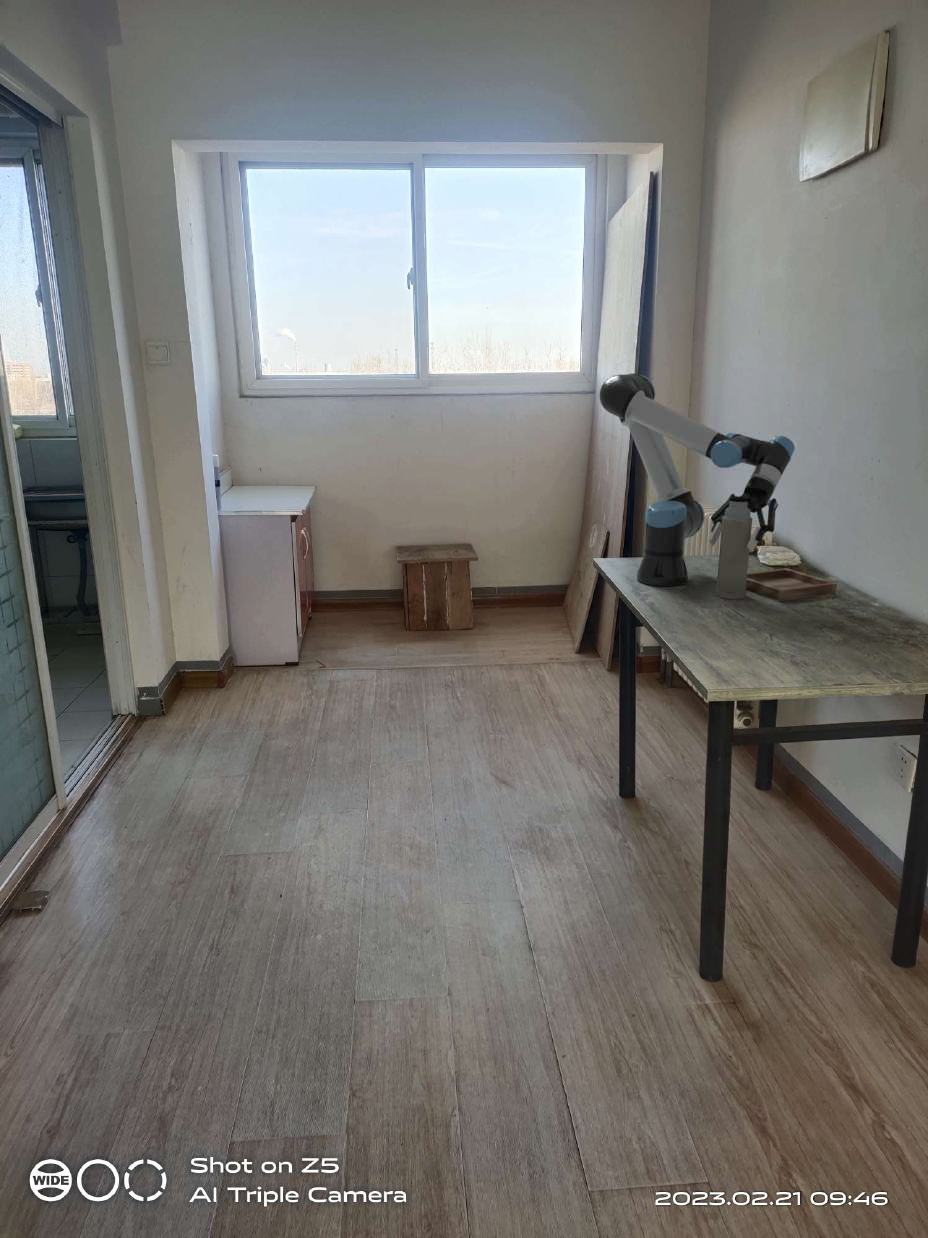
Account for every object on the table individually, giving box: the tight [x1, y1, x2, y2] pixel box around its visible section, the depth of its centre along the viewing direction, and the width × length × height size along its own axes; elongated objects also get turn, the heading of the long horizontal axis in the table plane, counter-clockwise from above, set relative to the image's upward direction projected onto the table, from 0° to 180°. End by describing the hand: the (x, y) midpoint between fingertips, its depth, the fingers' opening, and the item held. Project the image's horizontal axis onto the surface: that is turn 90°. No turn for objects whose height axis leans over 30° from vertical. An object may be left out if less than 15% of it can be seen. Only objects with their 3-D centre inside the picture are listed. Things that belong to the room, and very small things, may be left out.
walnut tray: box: [746, 567, 838, 603], centre depth 243 cm, size 20×20×3 cm
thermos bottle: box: [715, 496, 753, 600], centre depth 234 cm, size 8×8×28 cm
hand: (729, 546), depth 232 cm, fingers open, 11 cm apart
